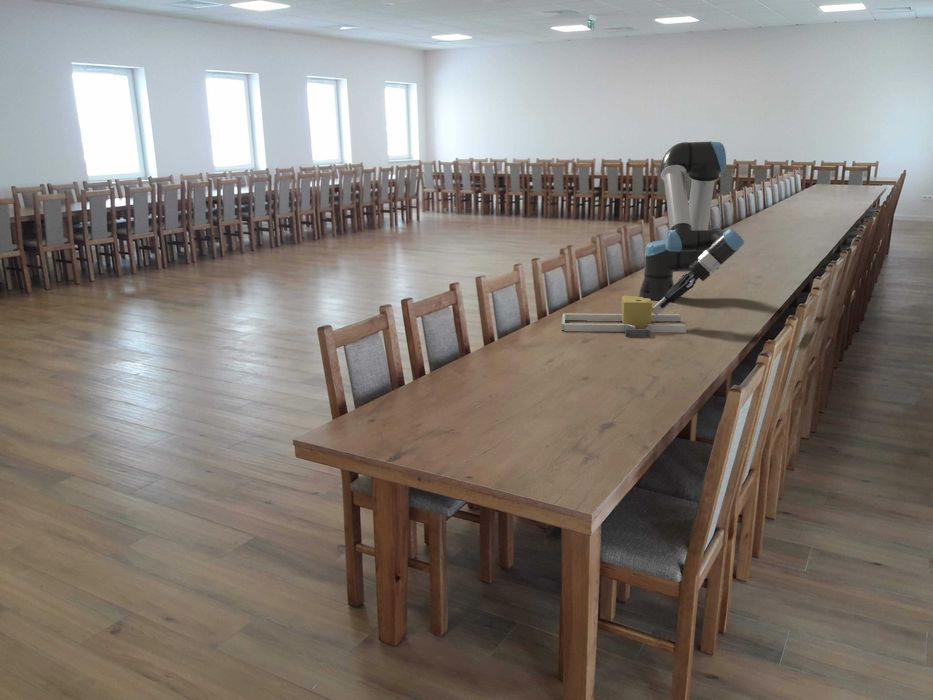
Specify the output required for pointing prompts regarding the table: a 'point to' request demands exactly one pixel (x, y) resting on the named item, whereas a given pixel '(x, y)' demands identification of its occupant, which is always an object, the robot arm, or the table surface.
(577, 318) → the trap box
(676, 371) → the table surface
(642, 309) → the cheese
